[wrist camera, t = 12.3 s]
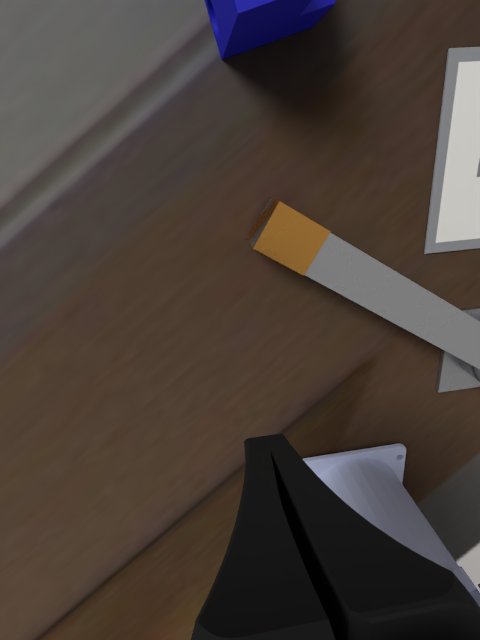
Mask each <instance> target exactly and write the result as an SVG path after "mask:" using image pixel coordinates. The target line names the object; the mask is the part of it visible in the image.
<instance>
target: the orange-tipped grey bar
mask: <svg viewBox="0 0 480 640" xmlns="http://www.w3.org/2000/svg"><path fill="white" fill-rule="evenodd" d="M330 232H331V231H329V230H327V229H325V228H324V227H322V226H320V225H319V224H317V223H315V222H314V221H312V220H310V219H309V218H307V217H305V216H304V215H302V214H300V213H299V212H297V211H295V210H294V209H292V208H290V207H289V206H287V205H285V204H283V203H282V202H280V201H278V200H275V199H272V198H270V197H269V199H268V201H267V202H266V204H265V206H264V208H263V210H262V212H261V213H260V215H259V217H258V219H257V221H256V223H255V224H254V226H253V228H252V230H251V232H250V234H249V235H248V237H247V239H246V241H247V242H248V243H249V244H250V245H251V247H252V248H253V249H255V250H257V251H259V252H260V253H262V254H264V255H266V256H268V257H270V258H272V259H273V260H275V261H277V262H279V263H281V264H283V265H285V266H286V267H288V268H290V269H292V270H294V271H296V272H298V273H299V274H301V275H303V276H304V275H305V276H307V277H309V278H311V279H313V280H315V281H317V282H318V283H320V284H322V285H324V286H326V287H328V288H330V289H331V290H333V291H335V292H337V293H339V294H341V295H343V296H344V297H346V298H348V299H350V300H352V301H354V302H356V303H357V304H359V305H361V306H363V307H365V308H367V309H368V310H370V311H372V312H374V313H376V314H378V315H380V316H381V317H383V318H385V319H387V320H389V321H391V322H393V323H394V324H396V325H398V326H400V327H402V328H404V329H406V330H407V331H409V332H411V333H413V334H415V335H417V336H419V337H420V338H422V339H424V340H426V341H428V342H430V343H431V344H433V345H435V346H437V347H439V348H441V349H443V350H444V351H446V352H448V353H450V354H452V355H454V356H456V357H457V358H459V362H460V365H461V367H462V369H463V370H464V371H465V372H467V373H468V374H469V375H471V376H472V377H473V378H475V379H476V380H478V381H479V382H480V321H478V320H476V319H475V318H473V317H471V316H470V315H468V314H466V313H465V312H463V311H461V310H460V309H458V308H456V307H455V306H453V305H451V304H449V303H448V302H446V301H444V300H443V299H441V298H439V297H438V296H436V295H434V294H433V293H431V292H429V291H428V290H426V289H424V288H423V287H421V286H419V285H418V284H416V283H414V282H412V281H411V280H409V279H407V278H406V277H404V276H402V275H401V274H399V273H397V272H396V271H394V270H392V269H391V268H389V267H387V266H386V265H384V264H382V263H380V262H379V261H377V260H375V259H374V258H372V257H370V256H369V255H367V254H365V253H364V252H362V251H360V250H359V249H357V248H355V247H354V246H352V245H350V244H349V243H347V242H345V241H343V240H342V239H340V238H338V237H337V236H335V235H333V234H332V233H330Z"/></svg>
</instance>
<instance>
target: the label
mask: <svg viewBox="0 0 480 640" xmlns="http://www.w3.org/2000/svg"><path fill="white" fill-rule="evenodd" d="M476 248H480V47H467V48H449V49H448V56H447V64H446V73H445V81H444V89H443V98H442V106H441V115H440V123H439V132H438V140H437V148H436V157H435V165H434V174H433V182H432V190H431V199H430V207H429V216H428V224H427V233H426V241H425V249H424V254H428V253H437V252H447V251H457V250H466V249H476Z"/></svg>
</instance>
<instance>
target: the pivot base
mask: <svg viewBox="0 0 480 640" xmlns="http://www.w3.org/2000/svg"><path fill="white" fill-rule="evenodd" d="M460 310H461V311H463V312H465V313H466V314H468V315H470V316H471V317H473V318H475V319H476V320H478V321H480V307H473V308H465V309H460ZM474 387H480V382H479V381H478V380H476V379H475V378H473V377H472V376H471V375H469V374H468V373H467V372H465V371H464V370H463V369H462V367H461V365H460V362H459V358H457V357H456V356H454V355H452V354H450V353H448V352H446V351H444V350H443V349H442V351H441V358H440V364H439V371H438V378H437V384H436V391H437V392H438V393H439V392H446V391H453V390H460V389H467V388H474Z"/></svg>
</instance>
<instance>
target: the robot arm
mask: <svg viewBox="0 0 480 640" xmlns="http://www.w3.org/2000/svg"><path fill="white" fill-rule="evenodd" d="M244 446H245V459H246V468H245V477H244V485H243V491H242V496H241V501H240V506H239V511H238V515H237V519H236V523H235V526H234V530H233V533H232V536H231V539H230V542H229V545H228V548H227V551H226V554H225V557H224V560H223V562H222V565H221V567H220V569H219V572H218V574H217V577H216V579H215V582H214V584H213V586H212V589H211V591H210V593H209V595H208V597H207V599H206V601H205V603H204V605H203V607H202V609H201V611H200V613H199V615H198V617H197V619H196V622H195V626H194V630H193V634H192V638H191V640H480V593H479V591H478V590H477V588H476V587H475V586H474V584H473V583H472V581H471V580H470V578H469V577H468V575H467V574H466V573H465V571H464V570H463V568H462V567H459V566H458V565H457V563H456V562H455V560H454V559H453V557H452V556H451V554H450V553H449V552H448V550H447V549H446V547H445V546H444V544H443V543H442V541H441V540H440V538H439V537H438V536H437V534H436V533H435V531H434V530H433V528H432V527H431V525H430V524H429V522H428V521H427V520H426V518H425V517H424V515H423V514H422V512H421V511H420V509H419V508H418V507H417V505H416V504H415V502H414V501H413V499H412V498H411V496H410V495H409V493H408V492H407V491H406V489H405V488H404V486H403V485H402V482H403V474H404V466H405V458H406V448H405V446H404V445H403V444H399V443H398V444H392V445H386V446H379V447H373V448H366V449H360V450H354V451H347V452H341V453H335V454H328V455H322V456H315V457H309V458H304V459H302V458H301V457H300V456H299V455H298V453H297V452H296V451H295V450H294V448H293V447H292V446H291V445H290V443H289V442H288V440H287V439H286V438H285V436H284V435H282V434H275V435H269V436H262V437H255V438H248V439H246V440H245V441H244ZM398 455H399V456H398ZM478 586H479V588H480V584H478Z"/></svg>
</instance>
